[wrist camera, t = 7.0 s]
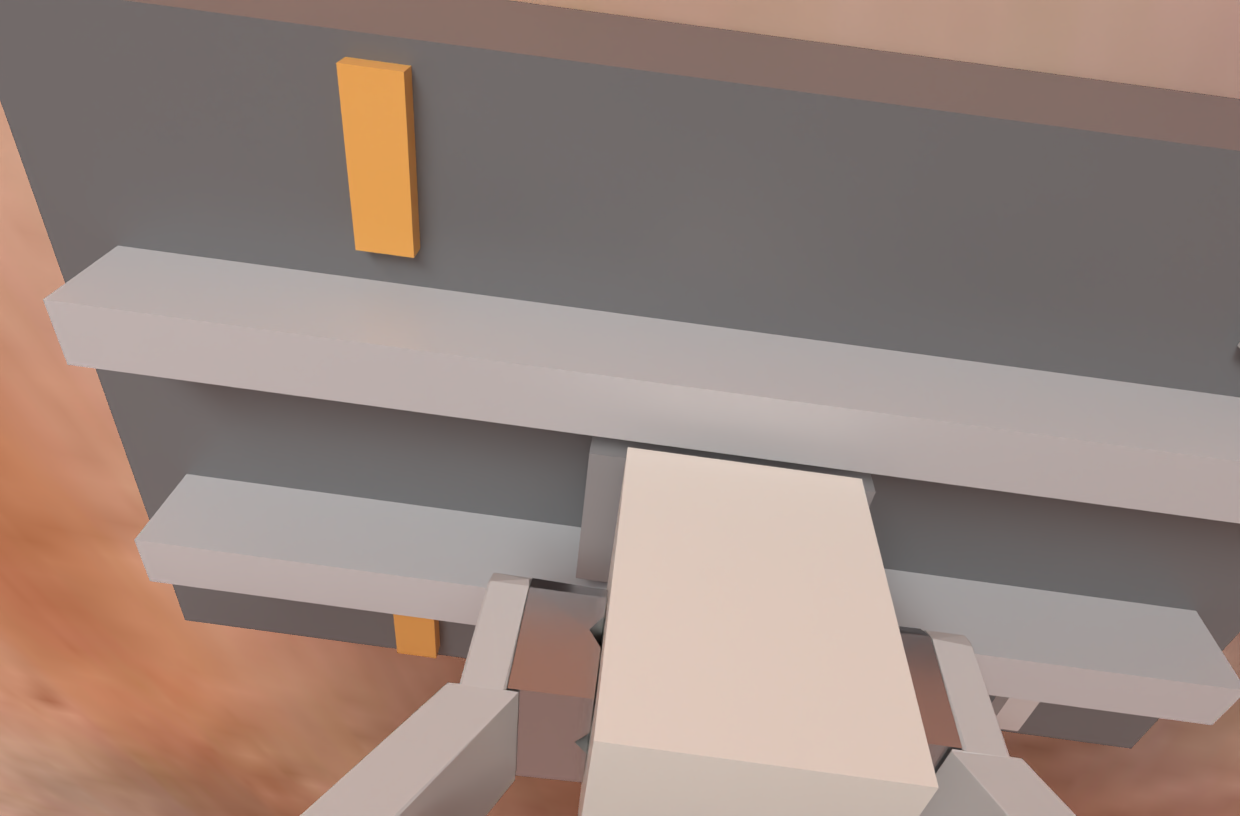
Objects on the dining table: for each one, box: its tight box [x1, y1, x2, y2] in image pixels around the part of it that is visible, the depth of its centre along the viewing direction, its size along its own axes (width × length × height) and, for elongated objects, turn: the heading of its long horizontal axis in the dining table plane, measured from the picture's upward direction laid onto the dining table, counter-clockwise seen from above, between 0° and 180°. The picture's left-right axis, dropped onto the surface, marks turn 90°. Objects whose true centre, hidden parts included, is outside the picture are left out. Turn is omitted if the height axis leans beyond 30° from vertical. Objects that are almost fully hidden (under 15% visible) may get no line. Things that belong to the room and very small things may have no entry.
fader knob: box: [576, 436, 939, 816], centre depth 10 cm, size 4×4×6 cm
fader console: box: [0, 0, 1240, 748], centre depth 13 cm, size 20×12×5 cm, turn 84°
